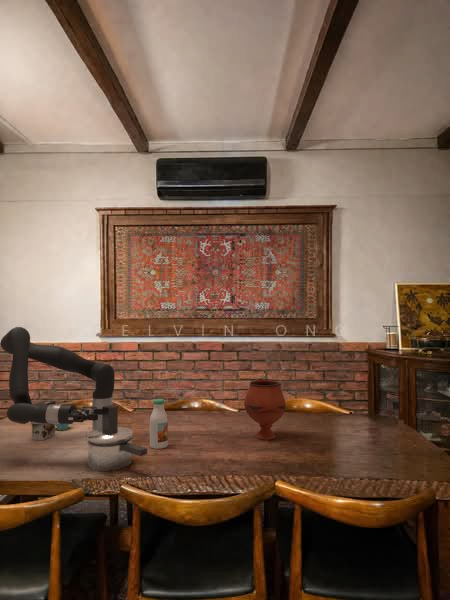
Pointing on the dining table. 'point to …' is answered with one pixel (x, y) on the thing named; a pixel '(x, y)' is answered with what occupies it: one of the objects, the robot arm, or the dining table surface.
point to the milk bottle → (158, 426)
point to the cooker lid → (109, 428)
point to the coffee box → (43, 426)
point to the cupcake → (62, 426)
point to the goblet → (265, 405)
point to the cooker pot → (113, 455)
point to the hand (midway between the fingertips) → (102, 414)
